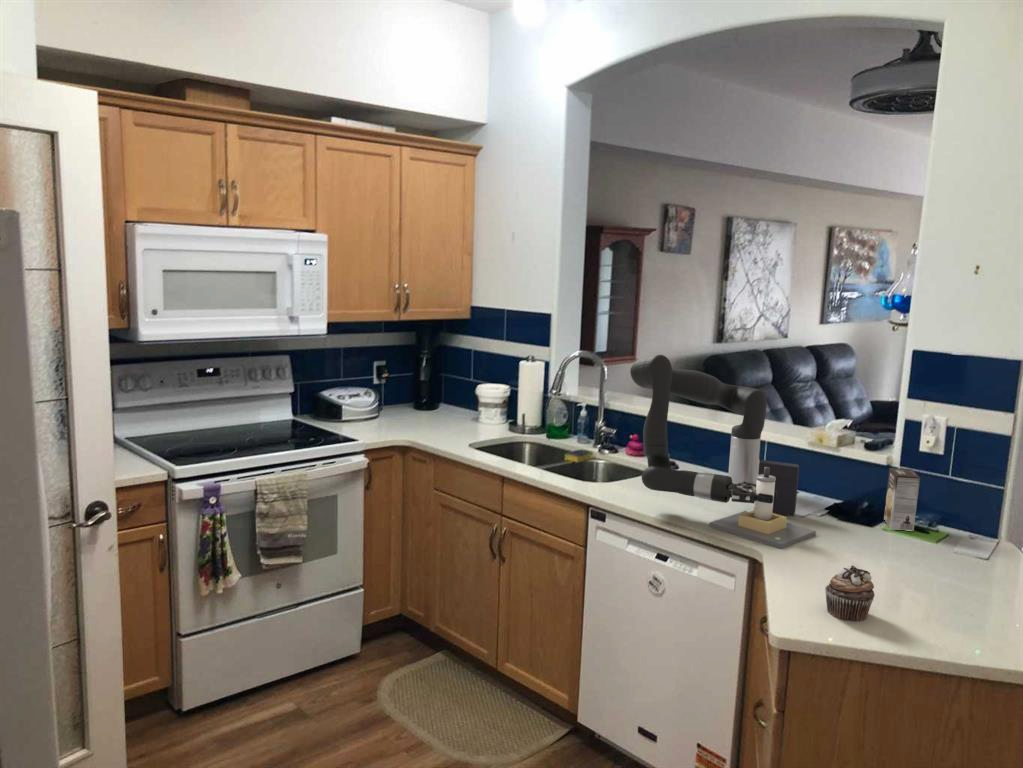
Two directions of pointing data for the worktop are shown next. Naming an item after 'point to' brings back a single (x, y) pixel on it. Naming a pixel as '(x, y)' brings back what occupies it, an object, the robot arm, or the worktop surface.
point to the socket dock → (763, 529)
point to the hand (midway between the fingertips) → (774, 497)
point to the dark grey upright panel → (783, 485)
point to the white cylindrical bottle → (765, 487)
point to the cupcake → (850, 594)
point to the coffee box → (901, 499)
